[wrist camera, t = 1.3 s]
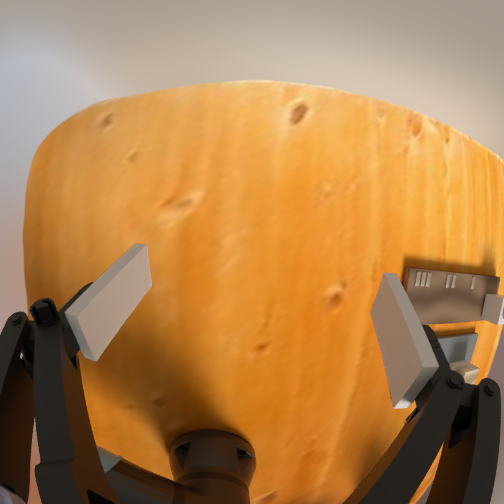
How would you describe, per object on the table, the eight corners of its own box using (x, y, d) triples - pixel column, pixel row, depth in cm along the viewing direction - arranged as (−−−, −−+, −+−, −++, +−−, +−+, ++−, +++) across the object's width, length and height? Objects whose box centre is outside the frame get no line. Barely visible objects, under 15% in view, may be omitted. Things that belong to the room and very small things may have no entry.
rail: (487, 317, 41) (492, 319, 40) (395, 322, 39) (400, 325, 37) (495, 276, 41) (500, 277, 39) (405, 267, 38) (411, 268, 37)
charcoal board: (458, 383, 42) (461, 385, 41) (390, 398, 40) (393, 401, 39) (474, 332, 41) (478, 333, 40) (409, 339, 40) (412, 341, 38)
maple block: (457, 381, 41) (471, 390, 36) (442, 385, 40) (456, 395, 35) (464, 359, 40) (479, 368, 35) (450, 362, 40) (465, 372, 35)
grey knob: (492, 317, 40) (511, 324, 34) (480, 318, 39) (501, 326, 33) (497, 294, 39) (517, 299, 33) (486, 294, 39) (506, 299, 33)
